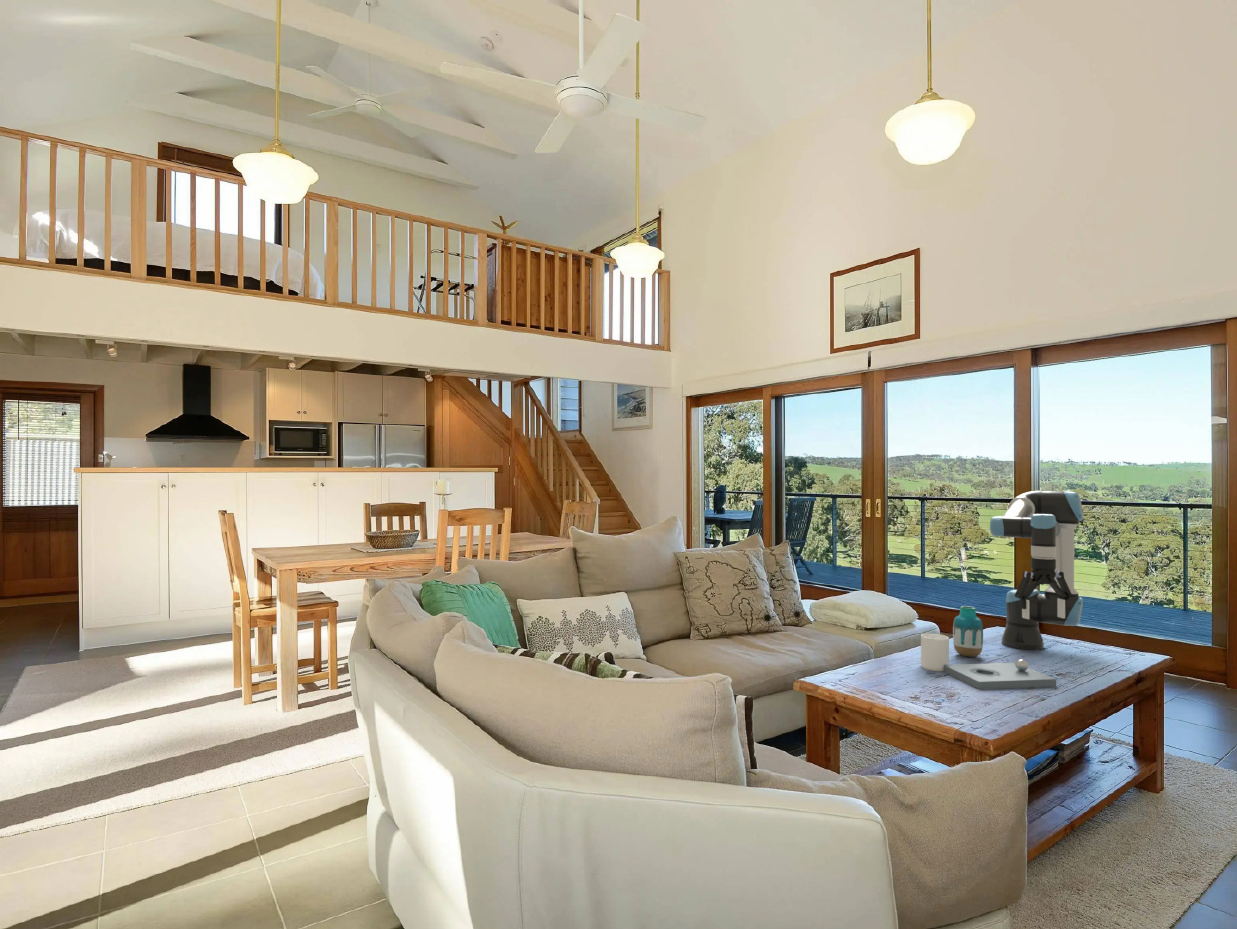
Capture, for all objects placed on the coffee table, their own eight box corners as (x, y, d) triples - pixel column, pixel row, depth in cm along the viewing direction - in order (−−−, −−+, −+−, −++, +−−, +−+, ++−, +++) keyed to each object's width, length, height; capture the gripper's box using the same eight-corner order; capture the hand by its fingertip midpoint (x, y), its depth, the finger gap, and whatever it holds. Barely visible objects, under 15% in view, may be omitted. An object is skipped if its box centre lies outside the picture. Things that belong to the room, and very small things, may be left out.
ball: (1023, 669, 243) (1023, 657, 243) (1031, 672, 239) (1031, 660, 239) (1012, 669, 242) (1012, 658, 242) (1020, 672, 238) (1020, 661, 238)
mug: (937, 673, 246) (937, 640, 246) (909, 665, 257) (909, 633, 257) (954, 669, 251) (954, 637, 251) (926, 661, 261) (926, 631, 261)
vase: (947, 654, 272) (946, 606, 272) (965, 651, 276) (965, 603, 276) (970, 661, 262) (970, 610, 262) (989, 657, 267) (989, 608, 267)
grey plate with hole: (1015, 669, 251) (1015, 662, 251) (1056, 686, 231) (1056, 679, 231) (943, 671, 248) (943, 664, 248) (979, 689, 228) (979, 681, 228)
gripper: (1067, 556, 247) (1068, 615, 247) (1003, 556, 245) (1003, 616, 244) (1084, 558, 240) (1084, 619, 239) (1017, 559, 237) (1018, 620, 237)
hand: (1043, 618), depth 242 cm, fingers open, 13 cm apart
